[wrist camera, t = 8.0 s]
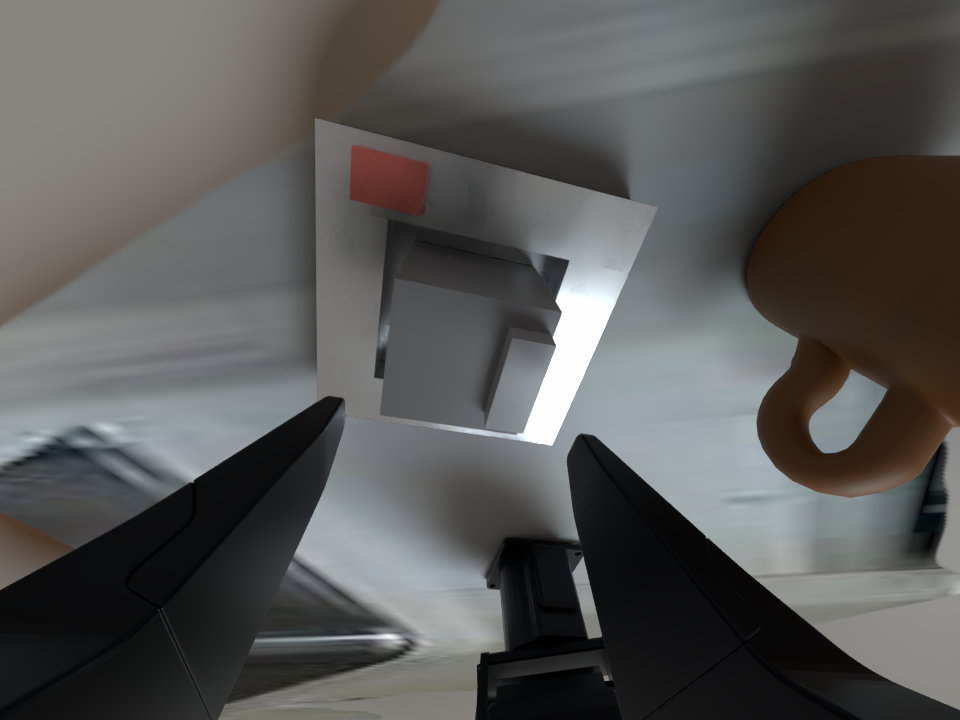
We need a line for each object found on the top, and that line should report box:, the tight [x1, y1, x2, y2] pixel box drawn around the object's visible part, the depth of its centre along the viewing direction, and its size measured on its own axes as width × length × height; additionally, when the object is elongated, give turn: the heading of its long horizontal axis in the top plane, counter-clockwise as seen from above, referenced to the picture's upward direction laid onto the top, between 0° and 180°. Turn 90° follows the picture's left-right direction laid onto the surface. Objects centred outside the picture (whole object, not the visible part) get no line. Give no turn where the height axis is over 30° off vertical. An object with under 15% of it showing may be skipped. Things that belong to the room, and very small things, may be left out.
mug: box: [747, 155, 960, 498], centre depth 13 cm, size 12×8×9 cm, turn 145°
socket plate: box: [315, 118, 658, 445], centre depth 16 cm, size 12×12×3 cm
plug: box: [380, 241, 562, 435], centre depth 14 cm, size 5×5×6 cm
